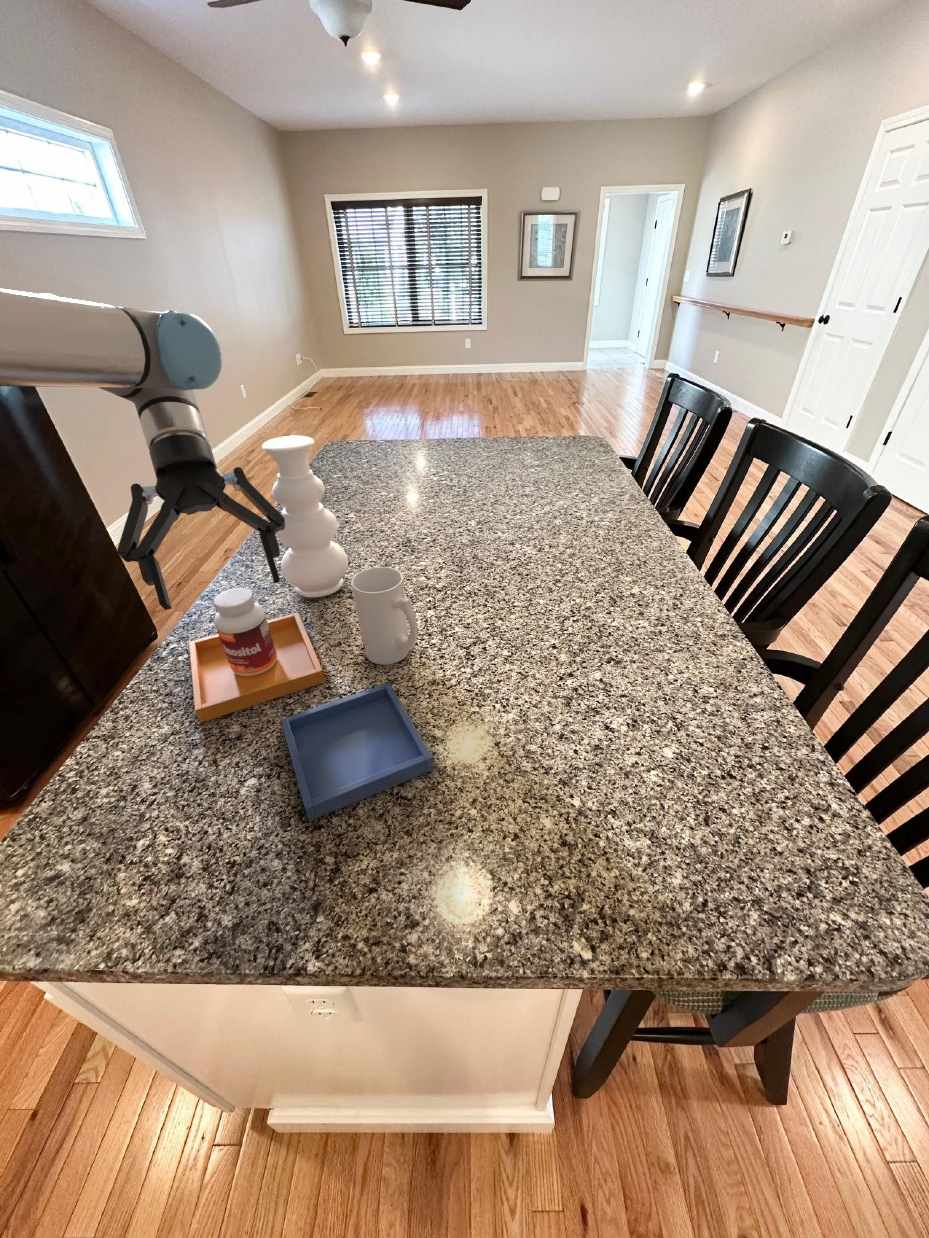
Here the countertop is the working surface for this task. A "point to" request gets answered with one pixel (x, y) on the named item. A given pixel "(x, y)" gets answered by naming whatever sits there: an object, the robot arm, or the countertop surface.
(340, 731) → the blue tray
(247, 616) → the pill bottle
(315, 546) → the vase
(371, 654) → the mug
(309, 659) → the amber tray
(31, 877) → the countertop surface
